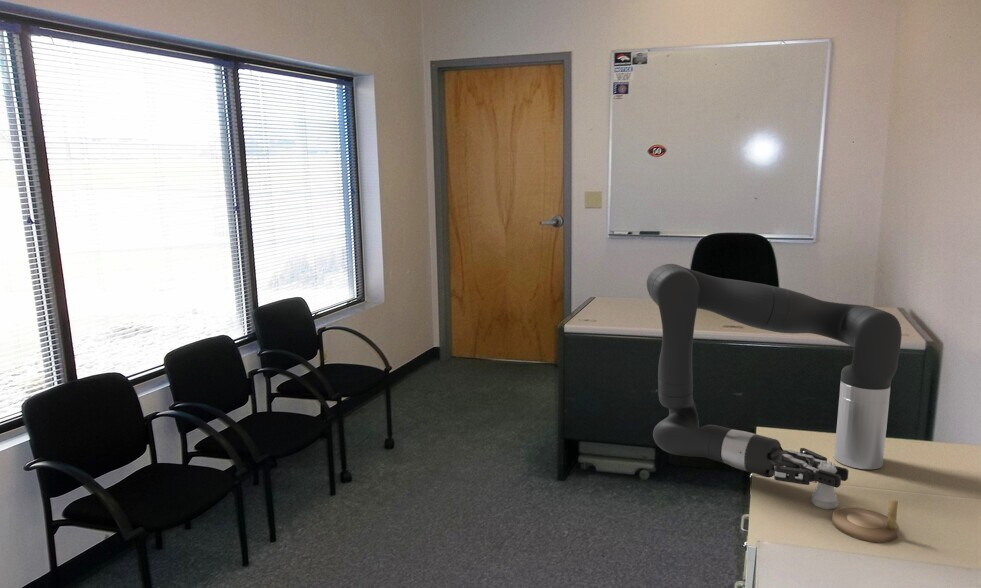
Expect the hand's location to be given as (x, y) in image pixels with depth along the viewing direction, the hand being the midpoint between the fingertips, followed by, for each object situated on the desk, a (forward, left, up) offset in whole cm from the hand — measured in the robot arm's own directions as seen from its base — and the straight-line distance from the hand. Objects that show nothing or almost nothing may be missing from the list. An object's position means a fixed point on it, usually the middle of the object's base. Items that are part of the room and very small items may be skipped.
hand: (843, 478), depth 125 cm
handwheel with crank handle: (+4, +5, -6) cm, 9 cm away
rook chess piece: (0, -3, -6) cm, 7 cm away
